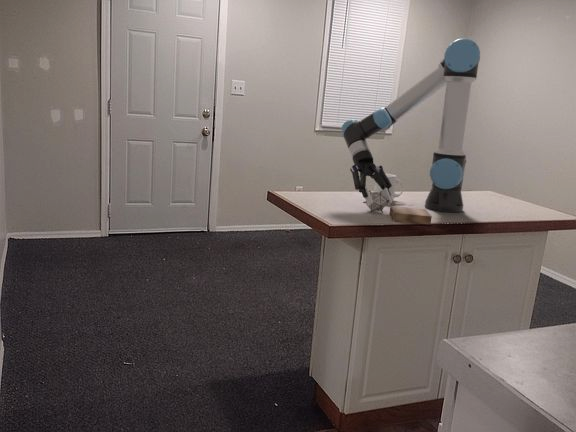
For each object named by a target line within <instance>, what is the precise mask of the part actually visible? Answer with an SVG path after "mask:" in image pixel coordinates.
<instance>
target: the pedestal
mask: <svg viewBox="0 0 576 432" xmlns="http://www.w3.org/2000/svg"><path fill="white" fill-rule="evenodd" d="M388 214H389V215H390V217H391V219H392V222H396V223H409V224H419V225H420V224H421V225H431V224H432V217H433V216H432V215H431V214H430V213H429V211H428V210H427V209H426V208H419V207H418V208H417V207H406V206H404V207H403V206H394V205H390V206H389V213H388Z"/></svg>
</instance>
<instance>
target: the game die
mask: <svg viewBox="0 0 576 432" xmlns="http://www.w3.org/2000/svg"><path fill="white" fill-rule="evenodd" d="M369 192H370V195H371V197H372V200H373V204H372V205H371V206H370V207H368V205H367V202H366V200H365V201H363V202H362V203H363V204H365V205H366V206H367V207H368V209H369V210H370V214H372V212H381V213H382V214H383V213H384V211H383V210H384V208H385V206H386V205H387V204H386V202H387V201H388V202H389V200H386V198H385V197H384V196H383V195H382V193H381V192H382V191H380V192H374V191H371V190H369Z"/></svg>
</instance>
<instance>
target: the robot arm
mask: <svg viewBox="0 0 576 432" xmlns="http://www.w3.org/2000/svg"><path fill="white" fill-rule="evenodd" d="M480 50H481V49H480V47H479V46H478V44H477V43H476V42H475V41H474V40H473V39H472V40H471V39H470V38H458V39H455V40H454V41H452V42H451V43H450V44H448V46H447V48H446V50H445V52H444V58H443V59H442V60H440V62H438V66H437V67H436V68H434V69H433V70H432V71H431V72H429V73H428V74H427V75H425V76H424V77H423V78H422V79H420V80H419V81H418V82H416V83H415V84H414V85H412V86H411V87H410V88H409V89H407V90H406V91H405V92H403V93H402V94H401V95H399V96H398V97H397V98H396V99H394V100H393V101H392V102H390V103H389V104H388V105H387V106H385V107H382V108H379V109H377V110H375V111H373V112H372V113H371V114H369V115H368V116H366V117H364V118H362V119H361V120H359V121H358V120H357V119H350V120H347V121H345V122H344V123H343V124H341V125H342V126H341V132H342V136H343V139H344V141H345V144H346V146H347V148H348V151H349V153H350V156H351V158H352V162H353V164H352V166H351V168H350V172H351V174H352V179H353V184H354V189H355V190H356V191H358V192H359V193H361V195H362V198H364V199H365V201H366V202H367V205H368V206H367V205H366V206H367V207H368V208H369V207H370V206H371V205H372V204H373V200H372V197H371V195H370V192H369V191H370V190H369V188H368V187H366V186H367V176H368V177H370V178H371V179H373V180H374V182H375V181H376V183H377V184H378V185H379V186H380V187H381V189H382V190H383V191H382V194H383V196H384V197H385V198H386V200H389V202H388V201H387V202H386V204H385V205H386V206H387V207H390V206H392V203H393V201H392V199H391V197H390V196H391V194H390V191H389V188H390V187H391V186H392V185H391V183H390V181H389V179H388V178H387V176H386V174H387V173H386V174H385V171H384V167H383V165H379V166H377V165H376V164H375V163H374V157H373V155H372V153H371V149H370V148H369V145H368V143H367V139H369V138H371V137H372V136H374V135H375V134H378V133H380V132H385V131H387V130H389V129H390V128H391V127H392V126H393V125H394V124H395V123H397V122H399V120H401V119H403V118H404V117H405V116H406V115H407V114H409V113H411V112H412V111H414V110H415V109H416V108H417V107H418V106H420V105H421V104H422V103H424V102H425V101H426V100H427V99H429V98H431V97H432V96H433V95H434V94H436V93H437V92H438V91H440V90H441V89H442V88H444V87H445V95H444V103H443V108H442V117H441V124H440V132H439V140H438V147H437V148H436V149H434V150H433V155H432V162H431V167H430V170H429V178H430V180H431V182H432V185H431V189H430V191H429V193H428V195H427V197H426V199H425V201H424V207H425V208H427V209H430V210H433V211H439V212H444V213H462V212H463V210H464V201H463V195H462V194H463V193H462V187H463V181H464V175H465V169H466V163H467V155H466V153H465V151H464V150H463V144H464V139H465V138H464V137H465V131H466V123H467V116H468V110H469V102H470V95H471V87H472V83H473V82H475V80H477V75H478V71H479V70H478V69H479V63H480V60H481V51H480ZM384 186H385V187H384Z"/></svg>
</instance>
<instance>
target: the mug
mask: <svg viewBox="0 0 576 432" xmlns="http://www.w3.org/2000/svg"><path fill="white" fill-rule="evenodd" d="M384 173H385V172H384ZM385 174H386V176H387V178H388V179H389V181H390V183H391V185H392V186H391V187H390V188H389V191H390V194H391V196H390V197H391V199H392V202H393V201H394V199H395V198H399V197H400V196H402V194H403V192H404V184H403V182H402V181H401V180H400V179H398V178H397V177H398V176H397V175H395V174H392V173H385ZM374 182H375V183H374V188H373V189H374V190H373V192H380V191H383V190H382V189H381V187H380V186H379V185H378V184H377V183H376V181H375V180H374ZM396 184H399V185H400V186H401V192H400V193H396ZM384 187H385V186H384ZM381 193H382V192H381ZM382 195H383V194H382Z"/></svg>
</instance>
